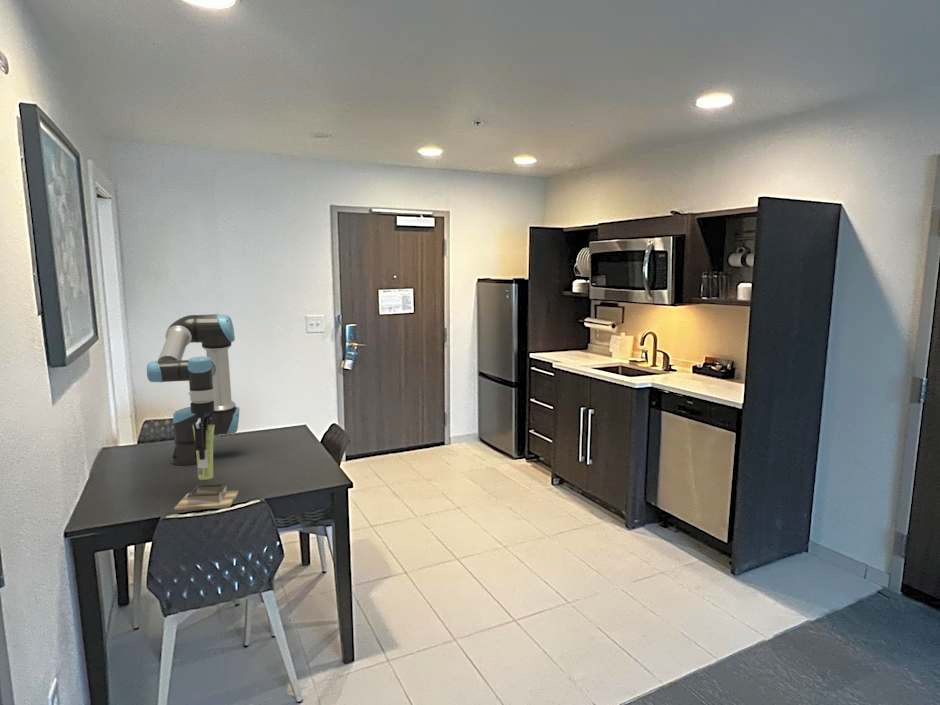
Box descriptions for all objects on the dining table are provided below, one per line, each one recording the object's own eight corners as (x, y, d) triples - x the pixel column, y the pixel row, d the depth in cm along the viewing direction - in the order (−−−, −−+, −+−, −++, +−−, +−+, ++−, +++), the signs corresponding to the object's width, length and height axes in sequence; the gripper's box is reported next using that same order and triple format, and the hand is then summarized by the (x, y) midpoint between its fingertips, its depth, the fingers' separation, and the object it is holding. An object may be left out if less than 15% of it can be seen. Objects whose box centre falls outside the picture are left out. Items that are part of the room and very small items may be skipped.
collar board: (188, 495, 214) (187, 484, 213) (239, 493, 216) (238, 481, 216) (174, 510, 200) (173, 498, 200) (229, 507, 203) (228, 495, 202)
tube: (211, 474, 211) (208, 421, 208) (217, 477, 207) (214, 424, 205) (195, 478, 207) (192, 424, 204) (201, 481, 203) (198, 427, 201)
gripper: (198, 396, 212) (202, 458, 215) (182, 406, 194) (186, 474, 197) (220, 395, 213) (223, 457, 216) (205, 406, 195) (209, 472, 198)
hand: (205, 465), depth 206 cm, fingers closed on tube, 5 cm apart
